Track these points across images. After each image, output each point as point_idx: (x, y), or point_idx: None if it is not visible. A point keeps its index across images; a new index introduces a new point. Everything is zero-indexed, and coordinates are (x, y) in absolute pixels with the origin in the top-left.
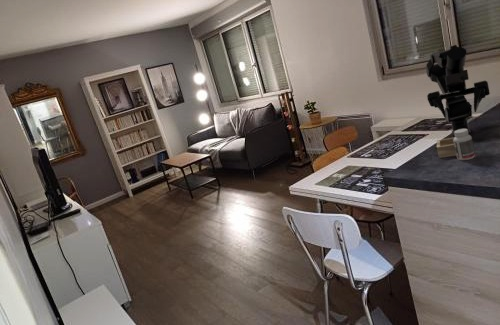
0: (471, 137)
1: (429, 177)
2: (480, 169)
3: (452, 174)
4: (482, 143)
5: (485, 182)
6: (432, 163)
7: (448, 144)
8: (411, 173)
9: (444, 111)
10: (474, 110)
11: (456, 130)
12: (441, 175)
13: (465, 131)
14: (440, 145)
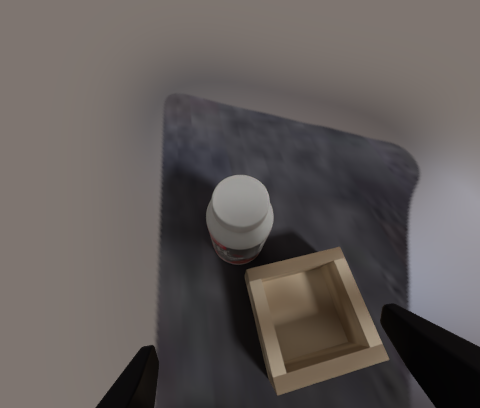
0: (206, 217)
1: (294, 132)
2: (192, 156)
3: (248, 140)
4: (202, 394)
5: (180, 102)
6: (324, 214)
7: (327, 352)
8: (350, 158)
9: (429, 339)
10: (151, 345)
11: (262, 210)
12: (270, 138)
13: (218, 185)
14: (351, 322)
